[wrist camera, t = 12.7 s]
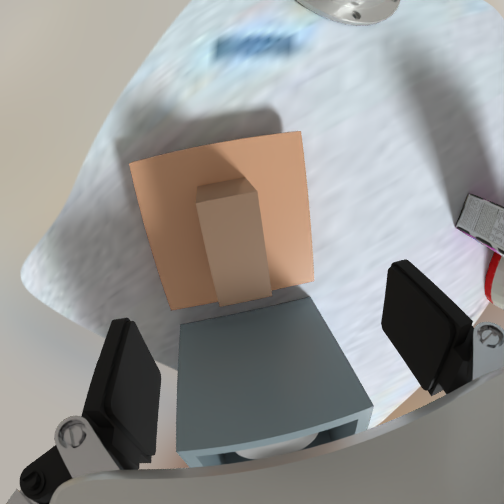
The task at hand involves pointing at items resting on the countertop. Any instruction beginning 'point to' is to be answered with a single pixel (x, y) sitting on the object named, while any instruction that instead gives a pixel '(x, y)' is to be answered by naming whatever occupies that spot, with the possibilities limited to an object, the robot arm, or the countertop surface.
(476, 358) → the robot arm
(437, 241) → the countertop surface
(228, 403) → the box
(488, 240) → the candy bar box
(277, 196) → the lid
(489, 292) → the kitchen timer
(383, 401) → the countertop surface
